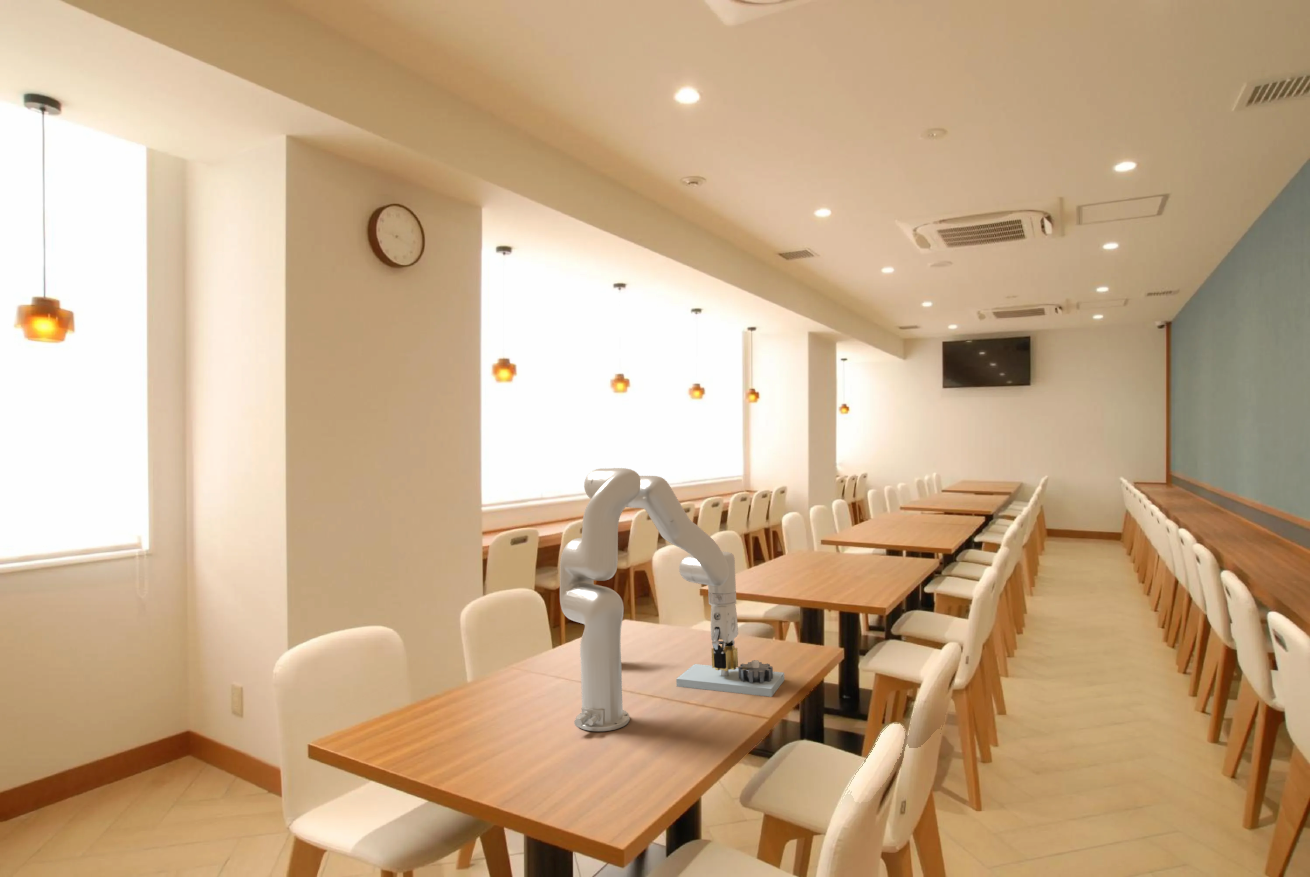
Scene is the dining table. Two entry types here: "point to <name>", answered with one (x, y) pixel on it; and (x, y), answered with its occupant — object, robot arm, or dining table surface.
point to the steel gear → (755, 673)
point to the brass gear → (728, 658)
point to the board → (727, 680)
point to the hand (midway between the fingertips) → (724, 663)
